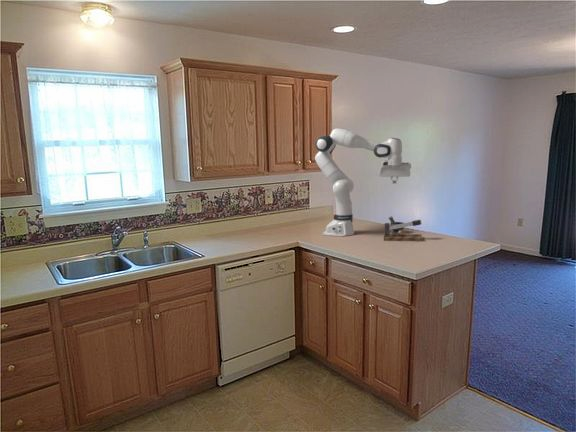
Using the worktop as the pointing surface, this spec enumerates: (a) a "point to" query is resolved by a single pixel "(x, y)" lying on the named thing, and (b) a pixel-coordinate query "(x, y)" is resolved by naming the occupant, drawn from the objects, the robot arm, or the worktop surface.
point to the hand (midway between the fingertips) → (394, 183)
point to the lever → (405, 224)
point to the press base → (400, 238)
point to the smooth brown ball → (401, 232)
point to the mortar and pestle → (395, 224)
